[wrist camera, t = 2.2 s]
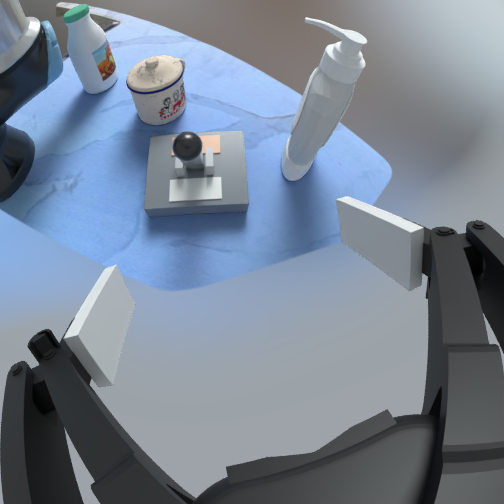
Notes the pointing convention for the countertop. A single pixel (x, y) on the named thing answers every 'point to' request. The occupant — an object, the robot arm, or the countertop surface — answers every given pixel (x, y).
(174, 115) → the teacup with lid
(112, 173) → the countertop surface
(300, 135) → the soap bottle
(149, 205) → the switch base
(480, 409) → the robot arm
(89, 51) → the milk bottle
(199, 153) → the lever
